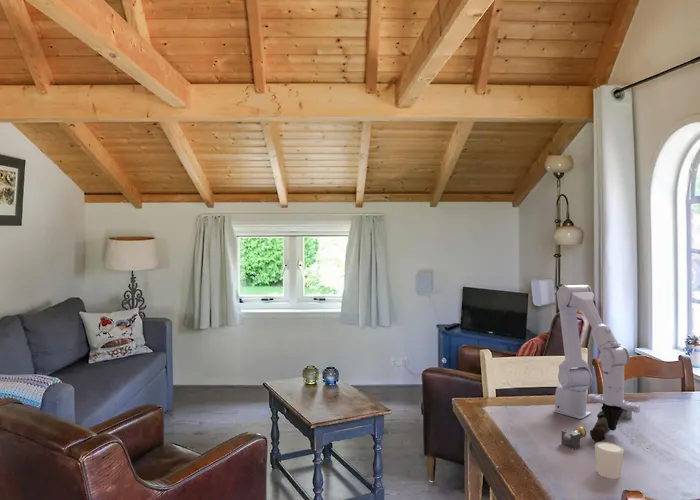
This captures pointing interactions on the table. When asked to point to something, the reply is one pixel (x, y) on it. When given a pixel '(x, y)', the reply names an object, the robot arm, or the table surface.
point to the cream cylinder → (609, 459)
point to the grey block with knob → (626, 414)
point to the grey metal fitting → (573, 437)
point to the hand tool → (599, 428)
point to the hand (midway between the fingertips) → (612, 429)
